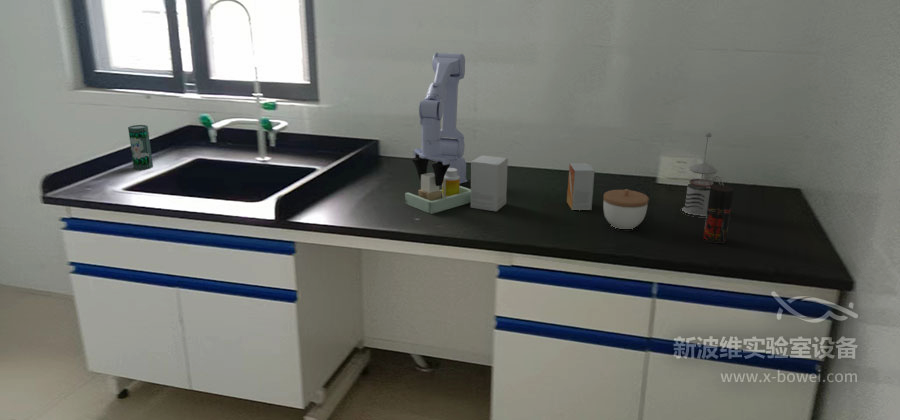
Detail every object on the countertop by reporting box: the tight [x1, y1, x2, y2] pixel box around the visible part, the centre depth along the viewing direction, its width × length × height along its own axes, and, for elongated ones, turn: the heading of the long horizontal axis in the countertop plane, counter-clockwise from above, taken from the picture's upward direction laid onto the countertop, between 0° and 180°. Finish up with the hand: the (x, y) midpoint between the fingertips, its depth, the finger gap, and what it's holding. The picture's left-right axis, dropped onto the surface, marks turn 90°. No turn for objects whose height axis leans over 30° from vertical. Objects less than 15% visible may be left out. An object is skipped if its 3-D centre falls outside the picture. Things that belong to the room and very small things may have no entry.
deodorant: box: [702, 184, 735, 242], centre depth 190 cm, size 6×6×15 cm
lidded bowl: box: [602, 188, 650, 230], centre depth 200 cm, size 13×13×11 cm
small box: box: [566, 162, 596, 212], centre depth 215 cm, size 8×6×13 cm
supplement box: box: [470, 154, 509, 212], centre depth 214 cm, size 9×9×15 cm
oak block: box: [417, 189, 442, 201], centre depth 215 cm, size 5×5×5 cm
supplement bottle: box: [441, 168, 461, 198], centre depth 219 cm, size 6×6×10 cm
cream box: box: [420, 171, 440, 193], centre depth 214 cm, size 4×4×5 cm
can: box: [127, 124, 154, 171], centre depth 249 cm, size 6×6×15 cm
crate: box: [404, 185, 471, 215], centre depth 218 cm, size 18×12×4 cm
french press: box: [681, 132, 724, 216], centre depth 209 cm, size 10×12×25 cm
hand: (430, 182), depth 214 cm, fingers open, 7 cm apart
